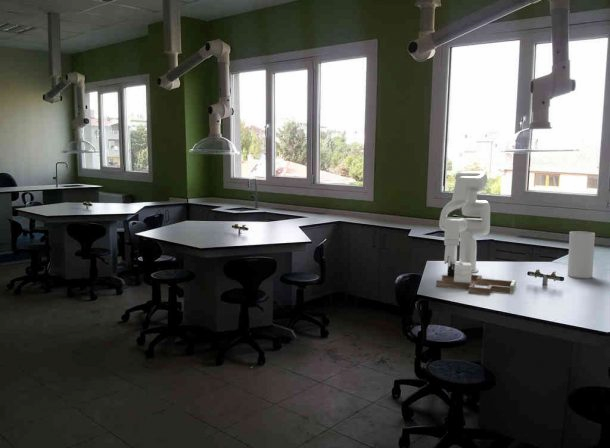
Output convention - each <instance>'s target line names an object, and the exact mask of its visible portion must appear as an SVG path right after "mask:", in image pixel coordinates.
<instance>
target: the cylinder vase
mask: <svg viewBox="0 0 610 448" xmlns="http://www.w3.org/2000/svg"><path fill="white" fill-rule="evenodd" d="M595 239H596V233H595V232H592V231H591V232H590V231H579V230H578V231H577V230H576V231H573V230H572V231H569V240H568V243H569V244H568V255H567V256H568V259H567V276H568V277H570V278H574V279H582V280H583V279H591V278H593V274H594V273H593V272H594V255H595V254H594V253H595Z"/></svg>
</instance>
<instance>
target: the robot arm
mask: <svg viewBox="0 0 610 448" xmlns="http://www.w3.org/2000/svg"><path fill="white" fill-rule="evenodd" d="M454 178H455V183H454V186H453V194H452V196H451V197H452V198H451V200H450V201H449V202H448V203H446V204H445V206H444V207H443V208H442V210H441V212H440V216H439V224H438V226H439V229H440V230H442V231H444V237H443V239H444V241H443V243H444V244H443V245H444V246H445V247H444V248H445V249H444V256H443V257H444V260H443V262H444V263H443V264H445V265H447V276H448V277H454V263H456V262H457V261H458V246H459V259H460V260H461V261H462V262H466V263H471V274H472V273H479V268H477V240H476V238H475V237H474V236H476V235H477V236H486V235H489V233H490V230H491V204H490V202H489V201H487V200H485V199H484V200H481V199H480V200H478V198H477V197H478V193H479V192H481V191H482V190H483V189H484V188H485V187H486V185H487V183H488V176H487V173H486V172H484V171H460V172H457V173H456V174H455V177H454ZM460 208H461V212H462V213H461V214H462V215H463V216H465V217H466V218H464V217H460V216H459V217H453V216H448V215H449V214H450V213H452V212H453V211H455V210H458V209H460ZM468 217H470V218H468ZM471 217H477V218H471ZM478 217H480V218H478ZM459 262H460V261H459Z"/></svg>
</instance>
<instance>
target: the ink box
mask: <svg viewBox="0 0 610 448" xmlns="http://www.w3.org/2000/svg"><path fill="white" fill-rule="evenodd" d="M458 260H459V261H460V262H457V261H456V263H454V282H463V283H471V275H472V273H471V263H466V262H462V261H461V260H460V258H459V259H458Z"/></svg>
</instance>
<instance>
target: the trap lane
mask: <svg viewBox="0 0 610 448" xmlns="http://www.w3.org/2000/svg"><path fill="white" fill-rule="evenodd" d="M482 276H483V275H481V274H480V275H478V274H471V283H463V282H454V277H448V276H447V275H446V274H443V275H441V280H439V279H437V280H436V281H435V282H436V284H435V285H436V287H438V286H440V287H439V288H448V287H450V288H449V289H461V290H468V294H475V295H476V294H478V295H486V296H487V295H488V296H490V295H491V294H492V293H500V294H501V293H504V294H510V295H511V294H514V292H515V290H516V287H517V279H516V278H513V279H512V280H505V279H493V278H483V277H482ZM476 285H481V286H483V285H485V286H487V287H480V286H476Z"/></svg>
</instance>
